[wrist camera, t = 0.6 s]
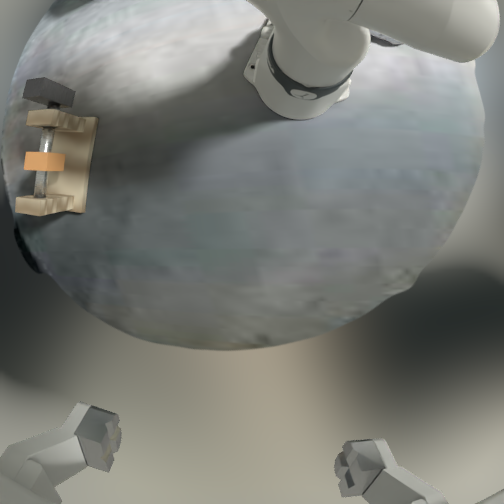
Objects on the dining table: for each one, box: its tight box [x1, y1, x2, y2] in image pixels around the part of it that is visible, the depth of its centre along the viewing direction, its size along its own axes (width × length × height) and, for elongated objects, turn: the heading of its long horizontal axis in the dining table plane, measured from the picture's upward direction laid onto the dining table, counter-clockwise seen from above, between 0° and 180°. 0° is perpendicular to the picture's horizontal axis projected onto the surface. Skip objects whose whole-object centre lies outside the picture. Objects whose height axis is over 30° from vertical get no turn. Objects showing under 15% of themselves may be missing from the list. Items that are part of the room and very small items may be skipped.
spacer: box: [24, 152, 66, 171], centre depth 40 cm, size 3×5×5 cm, turn 80°
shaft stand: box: [15, 109, 99, 216], centre depth 43 cm, size 18×10×12 cm, turn 170°
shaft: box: [22, 77, 75, 199], centre depth 38 cm, size 22×4×10 cm, turn 170°
